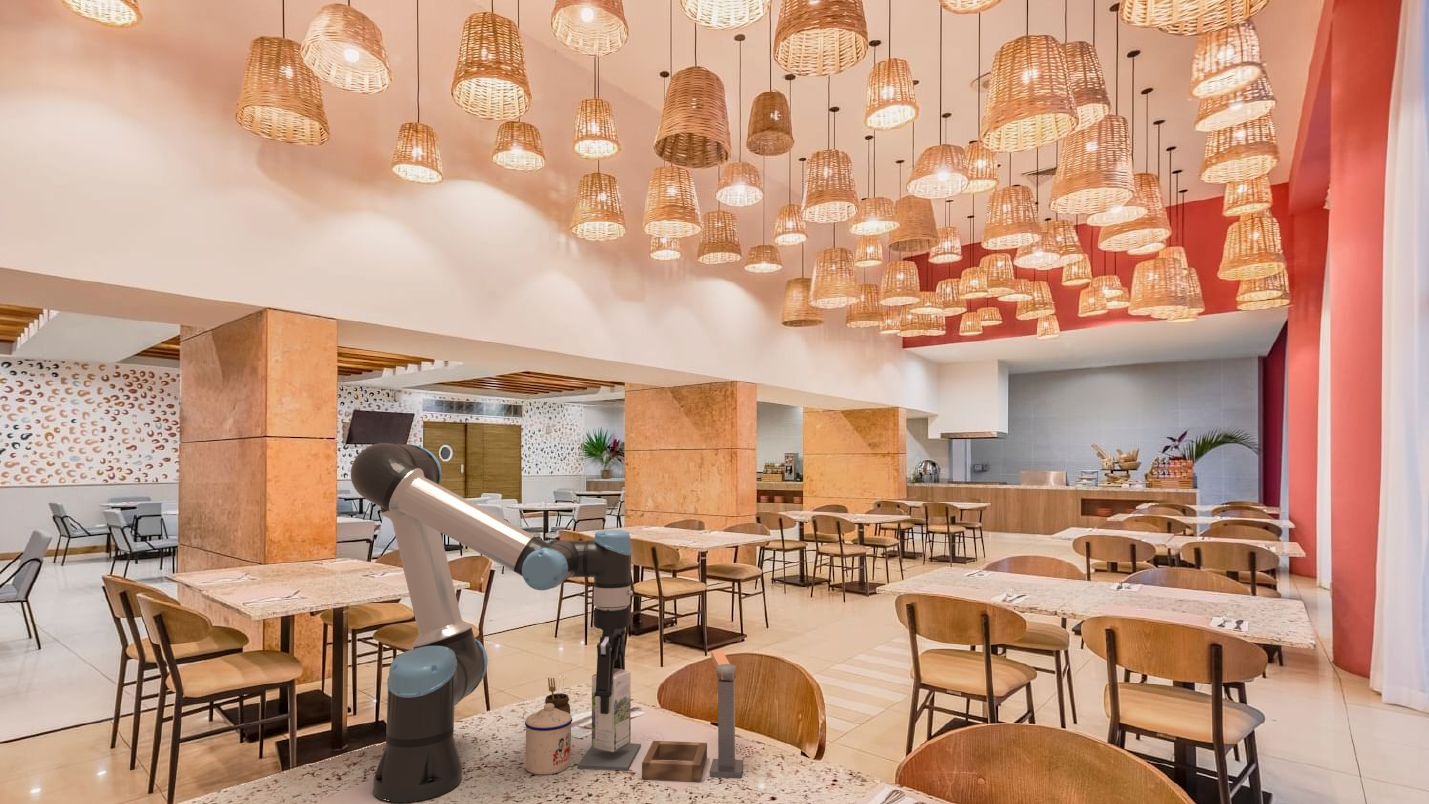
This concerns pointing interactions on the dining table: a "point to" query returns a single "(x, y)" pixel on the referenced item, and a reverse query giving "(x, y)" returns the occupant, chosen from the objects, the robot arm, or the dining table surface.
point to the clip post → (726, 734)
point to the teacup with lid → (548, 740)
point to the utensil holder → (558, 697)
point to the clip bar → (723, 666)
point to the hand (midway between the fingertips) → (610, 722)
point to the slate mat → (610, 758)
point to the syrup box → (614, 714)
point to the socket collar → (675, 769)
